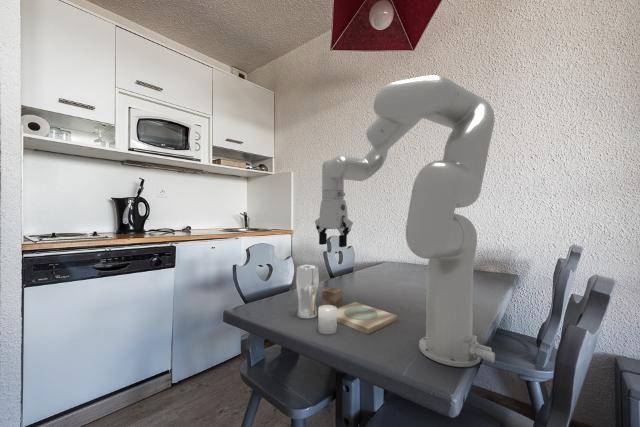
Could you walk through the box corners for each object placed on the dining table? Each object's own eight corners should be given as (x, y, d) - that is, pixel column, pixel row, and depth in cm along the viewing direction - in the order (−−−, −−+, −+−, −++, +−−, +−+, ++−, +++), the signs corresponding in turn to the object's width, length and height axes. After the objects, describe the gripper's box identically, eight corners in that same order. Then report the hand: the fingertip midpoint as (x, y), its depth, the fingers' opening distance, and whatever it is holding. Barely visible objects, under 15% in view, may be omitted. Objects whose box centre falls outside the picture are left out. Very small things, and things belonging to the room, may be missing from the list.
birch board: (397, 320, 81) (397, 314, 81) (368, 334, 71) (368, 327, 71) (355, 306, 92) (355, 301, 92) (325, 317, 83) (325, 311, 83)
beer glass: (315, 320, 80) (316, 269, 80) (293, 318, 82) (293, 268, 82) (320, 311, 87) (320, 265, 87) (299, 310, 88) (299, 264, 88)
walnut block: (341, 303, 95) (341, 289, 95) (334, 307, 91) (335, 292, 91) (329, 301, 98) (329, 287, 98) (322, 305, 94) (322, 290, 94)
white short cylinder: (340, 330, 73) (340, 308, 73) (327, 336, 70) (327, 312, 70) (327, 324, 77) (327, 303, 77) (314, 329, 74) (314, 307, 74)
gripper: (359, 195, 91) (358, 247, 91) (323, 197, 104) (323, 242, 104) (344, 194, 86) (343, 249, 86) (308, 196, 98) (308, 244, 98)
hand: (332, 245), depth 95 cm, fingers open, 9 cm apart
